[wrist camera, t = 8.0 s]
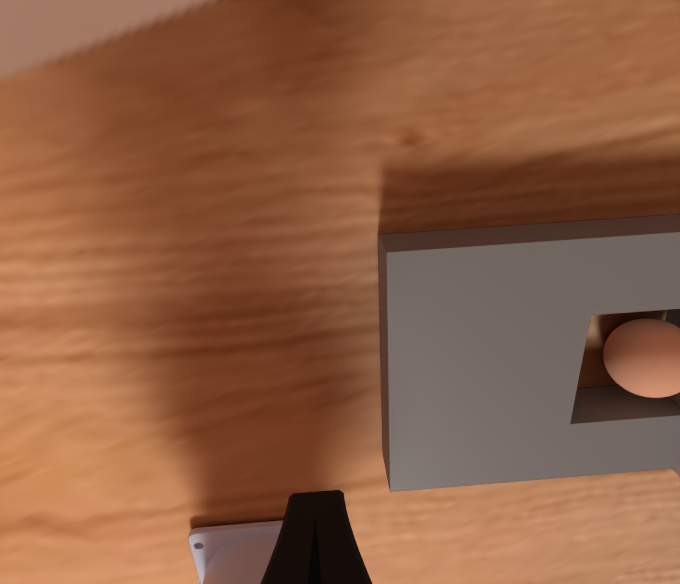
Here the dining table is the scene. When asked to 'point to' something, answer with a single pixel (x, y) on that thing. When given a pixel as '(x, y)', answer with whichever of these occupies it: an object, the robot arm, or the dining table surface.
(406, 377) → the hole deck
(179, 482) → the dining table surface
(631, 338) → the ball
